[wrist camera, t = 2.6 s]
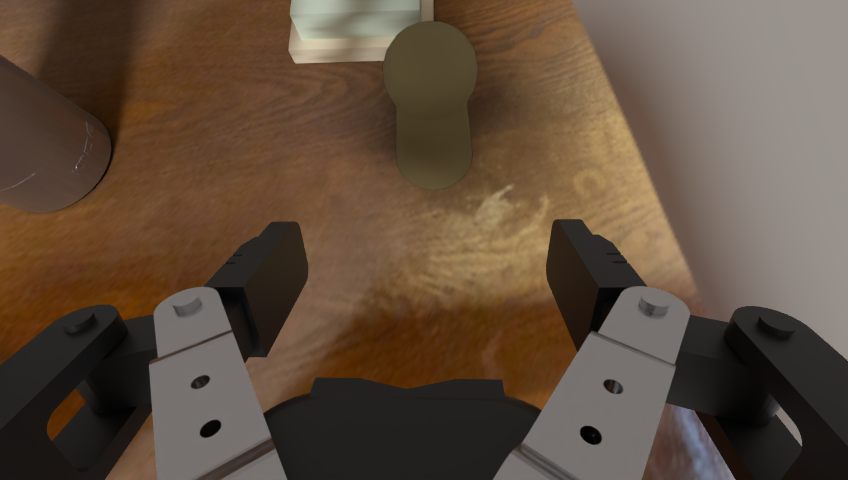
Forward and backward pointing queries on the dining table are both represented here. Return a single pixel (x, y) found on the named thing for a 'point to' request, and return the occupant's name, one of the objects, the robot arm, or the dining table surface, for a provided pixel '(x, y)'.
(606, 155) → the dining table surface
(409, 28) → the cork
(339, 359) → the dining table surface
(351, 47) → the plinth
